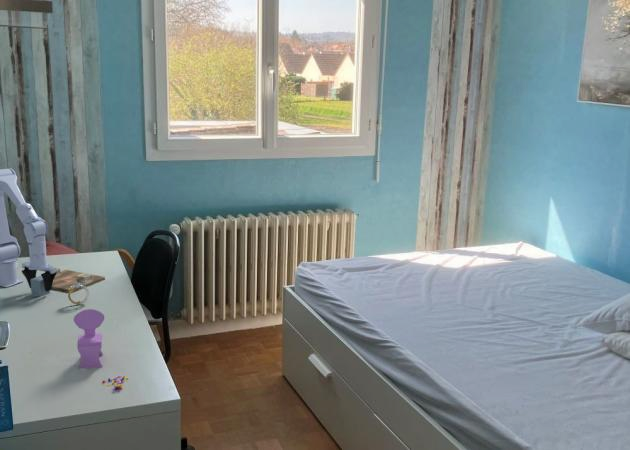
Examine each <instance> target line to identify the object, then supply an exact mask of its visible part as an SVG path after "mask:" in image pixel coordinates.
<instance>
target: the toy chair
mask: <svg viewBox="0 0 630 450" xmlns="http://www.w3.org/2000/svg"><path fill="white" fill-rule="evenodd" d="M104 321H105V314H104V313H102V312H101V311H100V310H97V309H93V308H87V309H83V310H80V311H79V312H78V313H77V314H75V315H74V317H73V322H74V324H75V325H76V327H78V328H79V329H81V330H83V333H84V334H78V337H77V342H76V343H77V345H76V346H77V352H78V353H79V357H80V358H81V359H80V361H81V362H80V364H79V367H78V369H79V370H80V369H81V370H83V369H84V370H85V369H91V368H93V369H94V368H102V367H103V364H102V362H101V360H100V356H104V354H103V353H104V352H103V351H102V348H103V347H102V345H103V344H102V342H103V341H102V339H103V333H101V332H100V333H99V332H97V333H96V329H97V328H99V327H100V326H101V325H102V324H103V322H104Z"/></svg>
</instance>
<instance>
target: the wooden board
mask: <svg viewBox="0 0 630 450" xmlns="http://www.w3.org/2000/svg"><path fill="white" fill-rule="evenodd" d="M56 272H57V274H56V276H55V278H54V280H53V283H52V288H51V290H56V291H61V292H65V293H68V291H69V289H70V287H71V286H73V285H74V284H76V282H77V283H79V282H80V284H81V283H82V284H83V283H84V284H83V286H85V287H87V288H88V287H89V286H92V285H94V284H95V285H96V284H97V283H100V282H103V281H104V280H106V276H101V275H96V274H92V273H86V272H82V271H81V272H80V271H75V270H70V269H69V270H68V269H64V270H61V268H58V267H56ZM82 289H84V288H82V287H78V288H76V289H75V290H73V291H72V292H71V294H72V293H75V292H78V291H79V290H82Z"/></svg>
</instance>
